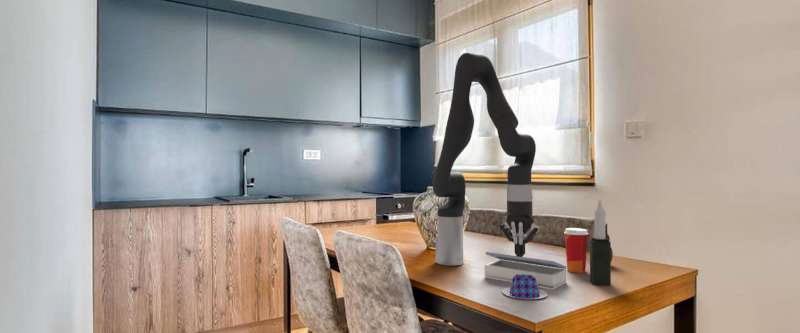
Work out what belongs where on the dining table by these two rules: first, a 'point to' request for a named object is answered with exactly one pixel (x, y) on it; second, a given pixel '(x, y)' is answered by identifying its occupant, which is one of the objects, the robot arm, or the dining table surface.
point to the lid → (526, 260)
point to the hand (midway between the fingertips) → (520, 256)
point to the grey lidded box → (543, 274)
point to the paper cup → (576, 249)
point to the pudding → (524, 287)
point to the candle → (600, 251)
